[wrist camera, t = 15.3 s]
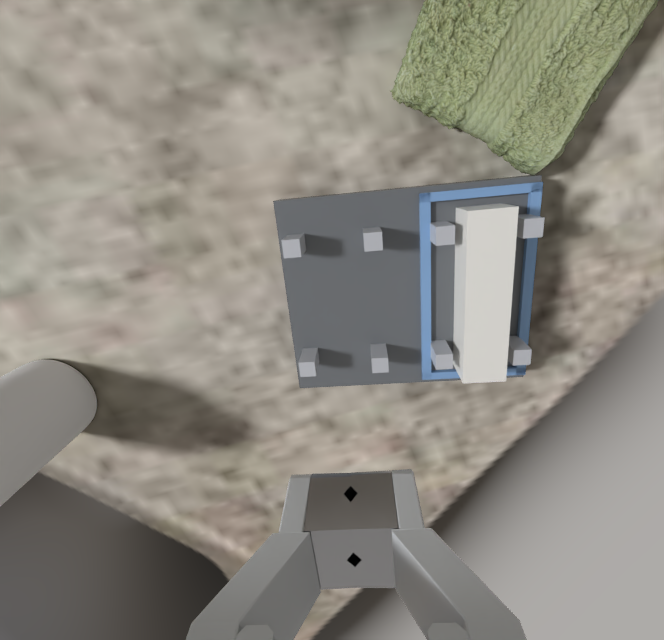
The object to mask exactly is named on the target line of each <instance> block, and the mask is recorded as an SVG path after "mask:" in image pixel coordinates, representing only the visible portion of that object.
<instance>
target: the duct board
mask: <svg viewBox="0 0 664 640" xmlns="http://www.w3.org/2000/svg"><path fill="white" fill-rule="evenodd" d="M541 178H542V175H533V176H532V175H528V176H518V177H508V178H497V179H487V180H477V181H467V182H456V183H446V184H436V185H426V186H415V187H405V188H395V189H385V190H374V191H364V192H354V193H344V194H333V195H323V196H313V197H303V198H292V199H282V200H276V201H273V202H274V209H275V216H276V223H277V230H278V237H279V244H280V252H281V259H282V266H283V273H284V280H285V287H286V294H287V301H288V308H289V315H290V322H291V329H292V336H293V343H294V350H295V357H296V364H297V372H298V379H299V386H300V388H311V387H331V386H351V385H370V384H390V383H410V382H429V381H449V380H461V379H460V377H459V375H458V373H457V371H456V369H455V367H454V365H453V335H454V278H455V221H456V207H467V206H478V205H489V204H499V203H502V204H508V205H513V206H519V211H518V224H517V238H516V252H515V266H514V279H513V293H512V307H511V320H510V334H509V348H508V362H507V375H506V378H508V377H523V376H524V375H525V372H526V365H530V363H531V353H532V349H531V348H530V347H529V346H528V340H529V329H530V318H531V307H532V297H533V286H534V275H535V264H536V254H537V243H538V237H543V229H544V219H545V217H540V210H541V200H542V189H543V182H541Z"/></svg>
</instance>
